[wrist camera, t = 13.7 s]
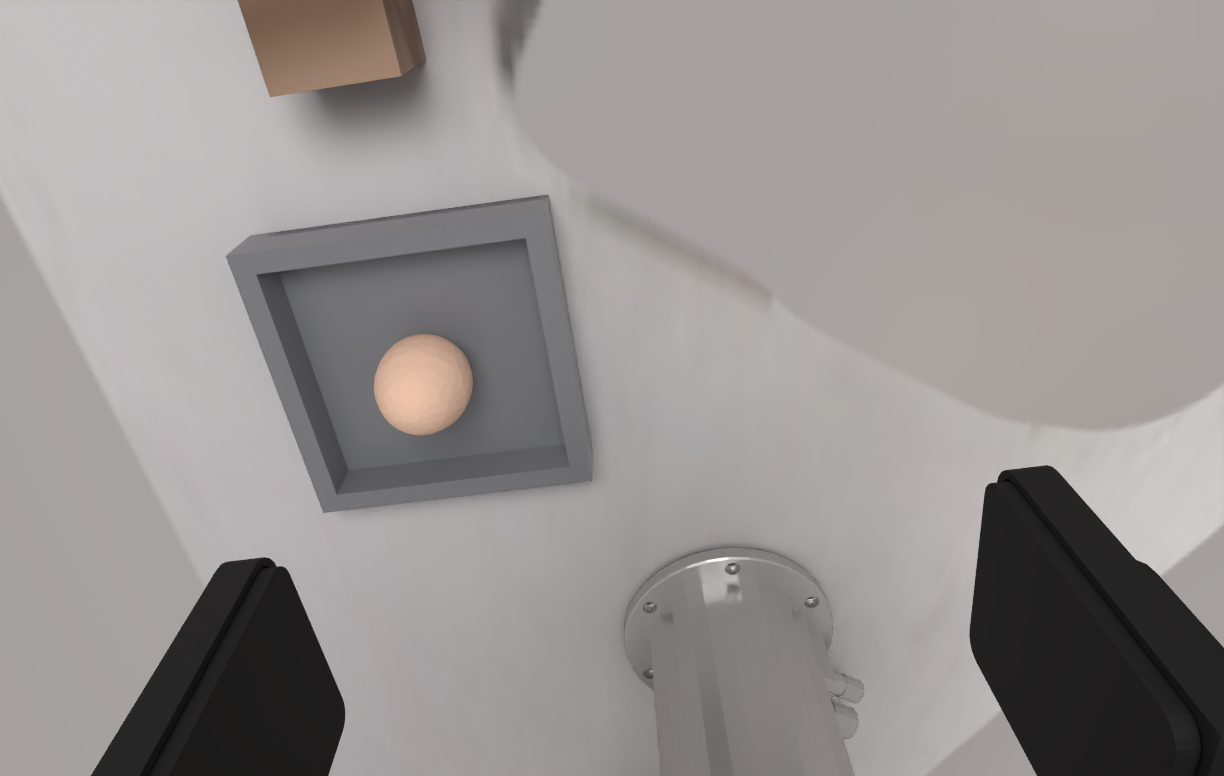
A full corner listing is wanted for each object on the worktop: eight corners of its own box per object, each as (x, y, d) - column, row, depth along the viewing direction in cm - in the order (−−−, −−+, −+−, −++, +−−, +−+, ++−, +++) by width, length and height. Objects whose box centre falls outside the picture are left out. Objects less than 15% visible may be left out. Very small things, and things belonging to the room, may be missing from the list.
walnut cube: (426, 59, 34) (401, 76, 30) (311, 77, 34) (269, 97, 30) (394, -76, 32) (362, -80, 27) (270, -55, 32) (219, -56, 28)
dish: (592, 450, 43) (592, 480, 41) (338, 481, 44) (323, 512, 42) (547, 194, 37) (544, 212, 34) (250, 235, 37) (225, 255, 35)
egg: (428, 412, 41) (406, 475, 36) (369, 347, 40) (337, 405, 35) (497, 368, 40) (483, 427, 35) (439, 299, 38) (416, 352, 33)
